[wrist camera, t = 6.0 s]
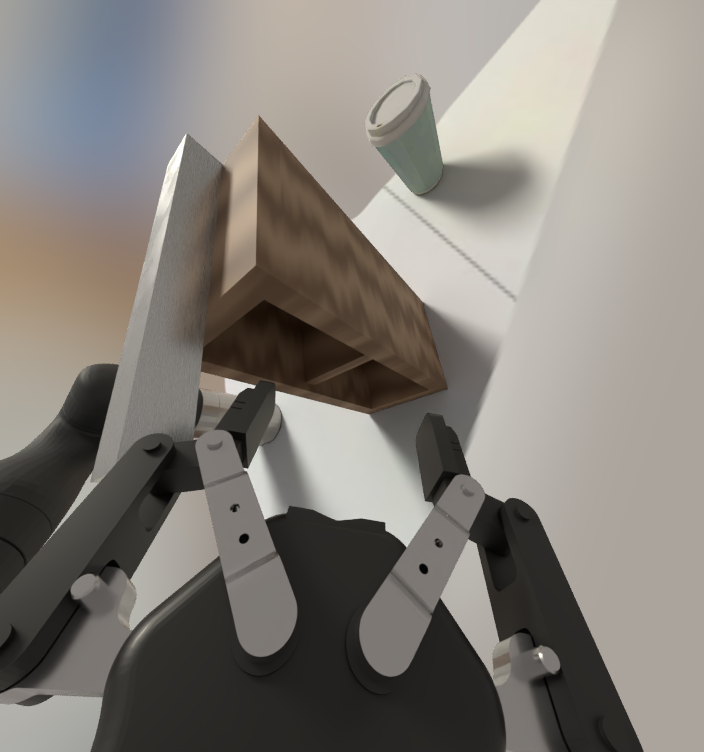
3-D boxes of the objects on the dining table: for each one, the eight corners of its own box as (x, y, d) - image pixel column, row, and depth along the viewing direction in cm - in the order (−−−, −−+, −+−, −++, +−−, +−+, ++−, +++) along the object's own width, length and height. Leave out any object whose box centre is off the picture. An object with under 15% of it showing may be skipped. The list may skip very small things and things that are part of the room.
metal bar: (189, 469, 14) (114, 471, 11) (160, 479, 15) (90, 482, 13) (222, 164, 24) (186, 133, 22) (203, 191, 26) (167, 165, 23)
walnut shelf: (447, 388, 39) (255, 265, 15) (368, 414, 46) (152, 359, 22) (421, 301, 46) (258, 115, 21) (356, 335, 53) (178, 225, 28)
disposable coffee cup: (415, 160, 55) (376, 80, 44) (466, 147, 48) (436, 48, 37) (395, 208, 55) (350, 141, 44) (443, 202, 48) (405, 120, 37)
